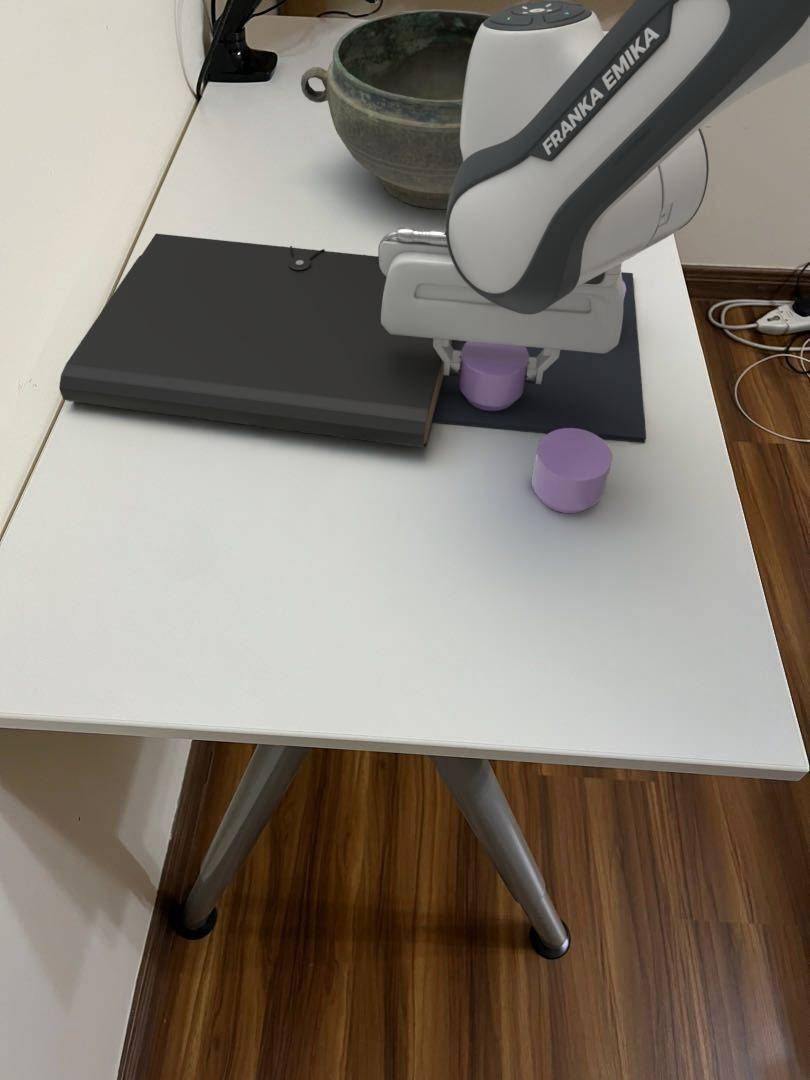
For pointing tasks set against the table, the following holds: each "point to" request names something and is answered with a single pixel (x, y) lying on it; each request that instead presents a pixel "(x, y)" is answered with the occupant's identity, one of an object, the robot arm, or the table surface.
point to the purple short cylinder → (571, 469)
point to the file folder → (258, 343)
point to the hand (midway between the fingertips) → (492, 375)
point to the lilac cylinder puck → (492, 374)
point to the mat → (568, 391)
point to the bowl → (402, 98)
